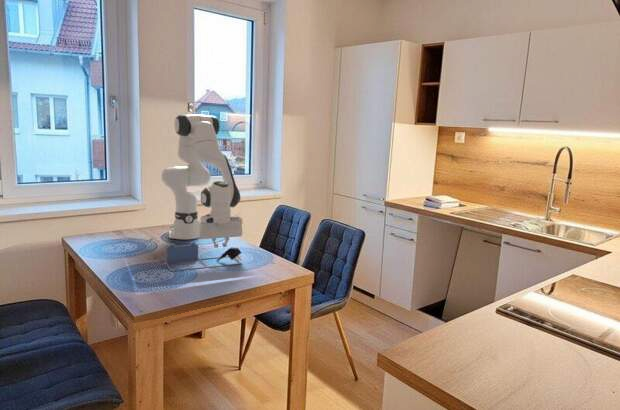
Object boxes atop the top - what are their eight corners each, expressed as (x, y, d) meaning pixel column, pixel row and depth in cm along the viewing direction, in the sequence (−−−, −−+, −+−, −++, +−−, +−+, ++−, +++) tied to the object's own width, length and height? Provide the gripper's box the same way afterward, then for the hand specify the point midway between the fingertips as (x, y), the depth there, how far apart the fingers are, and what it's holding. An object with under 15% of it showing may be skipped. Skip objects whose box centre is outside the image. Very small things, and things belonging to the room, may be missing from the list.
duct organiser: (163, 261, 201) (163, 244, 200) (231, 255, 217) (231, 239, 215) (170, 271, 188) (170, 252, 187) (242, 264, 203) (242, 246, 202)
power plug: (218, 258, 208) (236, 243, 206) (228, 270, 208) (246, 256, 205) (213, 261, 203) (232, 246, 200) (223, 274, 203) (242, 259, 200)
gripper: (240, 215, 210) (239, 243, 212) (196, 217, 200) (196, 247, 202) (244, 217, 204) (244, 246, 207) (200, 219, 195) (200, 250, 197)
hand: (220, 246), depth 204 cm, fingers open, 3 cm apart
